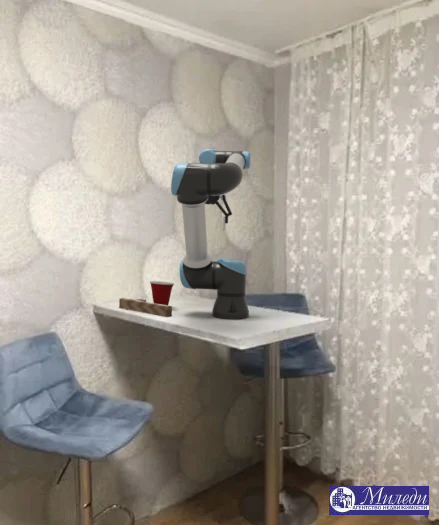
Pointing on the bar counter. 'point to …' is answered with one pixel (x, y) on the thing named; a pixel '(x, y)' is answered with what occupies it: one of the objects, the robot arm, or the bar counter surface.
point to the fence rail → (145, 307)
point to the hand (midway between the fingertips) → (209, 230)
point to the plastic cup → (161, 292)
